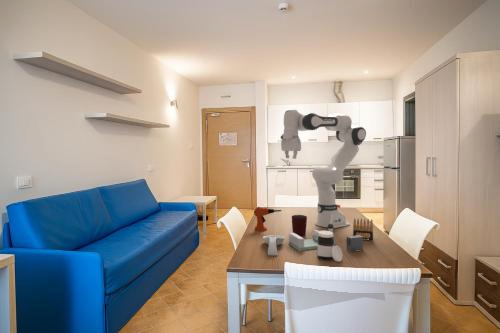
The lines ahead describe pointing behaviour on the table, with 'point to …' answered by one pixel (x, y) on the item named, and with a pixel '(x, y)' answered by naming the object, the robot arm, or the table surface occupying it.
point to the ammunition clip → (363, 229)
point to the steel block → (354, 243)
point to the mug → (299, 224)
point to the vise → (302, 242)
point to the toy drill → (260, 219)
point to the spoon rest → (273, 243)
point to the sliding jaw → (315, 232)
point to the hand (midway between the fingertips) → (290, 158)
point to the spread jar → (328, 246)
